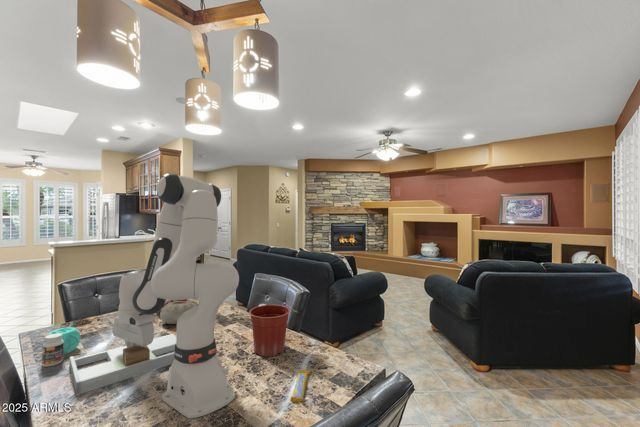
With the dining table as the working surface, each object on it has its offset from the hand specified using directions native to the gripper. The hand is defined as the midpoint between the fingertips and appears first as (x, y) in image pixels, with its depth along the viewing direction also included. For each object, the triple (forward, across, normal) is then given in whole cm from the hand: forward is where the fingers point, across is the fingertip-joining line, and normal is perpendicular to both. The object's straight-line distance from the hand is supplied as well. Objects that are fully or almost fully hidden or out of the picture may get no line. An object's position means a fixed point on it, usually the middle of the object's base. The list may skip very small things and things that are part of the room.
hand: (131, 352), depth 105 cm
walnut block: (+1, +6, -2) cm, 6 cm away
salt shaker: (+4, +24, +46) cm, 52 cm away
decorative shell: (+4, -21, +35) cm, 41 cm away
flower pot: (+4, +38, +33) cm, 50 cm away
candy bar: (+4, +62, +18) cm, 65 cm away
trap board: (+4, +1, 0) cm, 4 cm away
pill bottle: (+4, -24, -14) cm, 28 cm away
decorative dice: (+4, -32, -9) cm, 34 cm away
